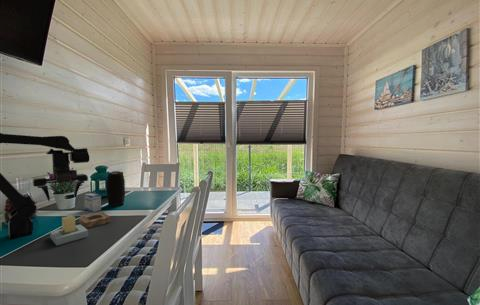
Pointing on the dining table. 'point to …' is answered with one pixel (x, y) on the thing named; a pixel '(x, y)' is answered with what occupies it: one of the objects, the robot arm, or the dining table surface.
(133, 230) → the dining table surface
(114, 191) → the portable speaker
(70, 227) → the brass pin
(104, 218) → the walnut mount
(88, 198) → the medicine box
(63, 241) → the socket block
